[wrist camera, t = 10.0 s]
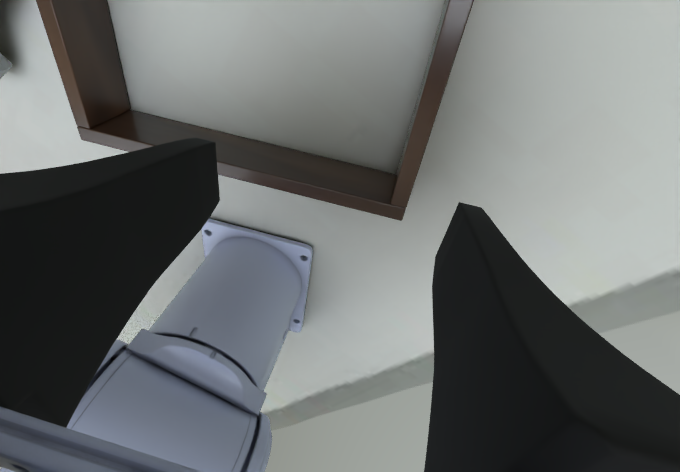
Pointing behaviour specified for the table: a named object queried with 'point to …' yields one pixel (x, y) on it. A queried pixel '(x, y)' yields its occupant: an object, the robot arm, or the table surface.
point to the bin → (233, 151)
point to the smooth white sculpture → (4, 65)
